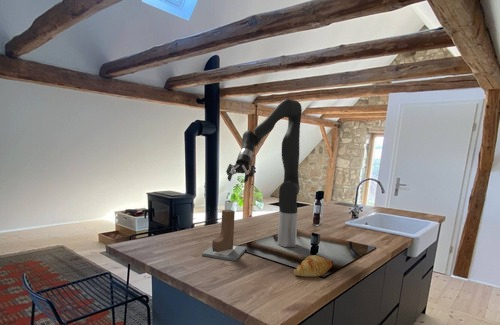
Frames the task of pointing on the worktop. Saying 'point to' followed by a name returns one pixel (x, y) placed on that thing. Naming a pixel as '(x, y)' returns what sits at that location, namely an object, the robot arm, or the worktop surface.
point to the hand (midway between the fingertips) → (237, 180)
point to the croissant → (313, 266)
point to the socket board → (225, 253)
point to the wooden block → (225, 232)
